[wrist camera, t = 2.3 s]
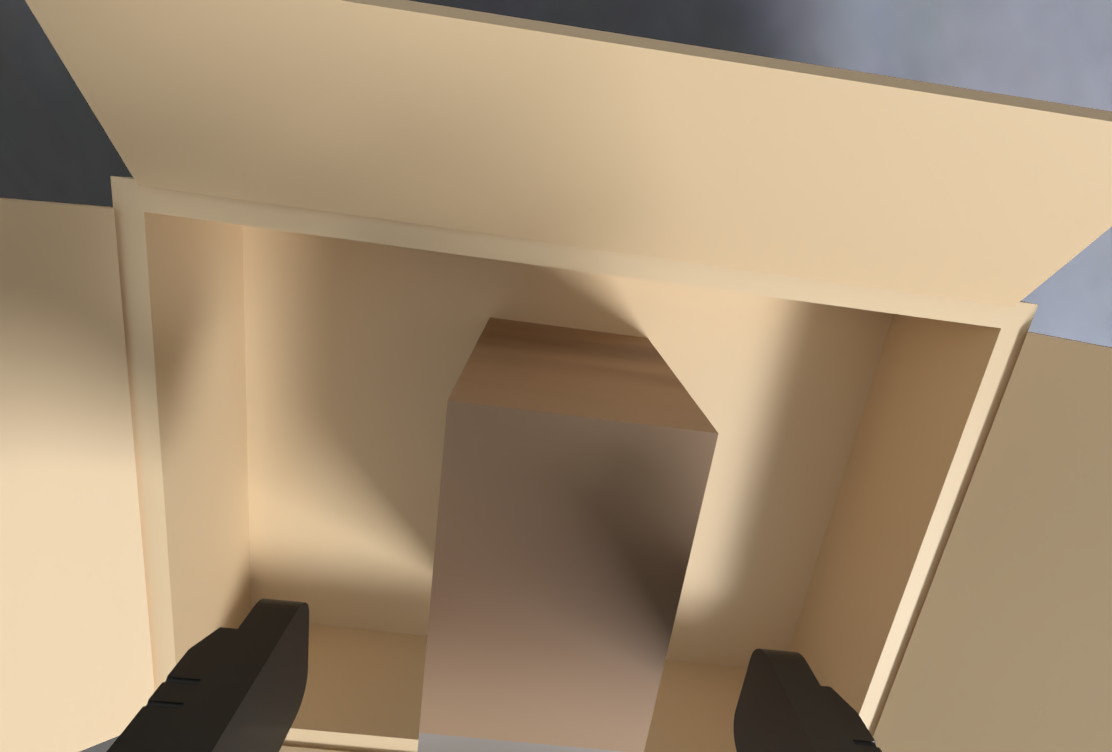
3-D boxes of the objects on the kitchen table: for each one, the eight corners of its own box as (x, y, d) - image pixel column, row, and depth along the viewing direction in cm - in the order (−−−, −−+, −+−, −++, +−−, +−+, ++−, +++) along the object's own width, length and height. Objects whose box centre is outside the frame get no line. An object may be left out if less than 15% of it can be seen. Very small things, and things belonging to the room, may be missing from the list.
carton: (86, 29, 14) (-307, -119, 8) (1071, 178, 15) (1450, 160, 9) (145, 692, 20) (-47, 926, 13) (853, 758, 21) (986, 999, 15)
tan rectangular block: (489, 317, 16) (447, 400, 9) (648, 337, 16) (718, 433, 9) (461, 588, 18) (412, 806, 12) (598, 603, 19) (626, 825, 12)
